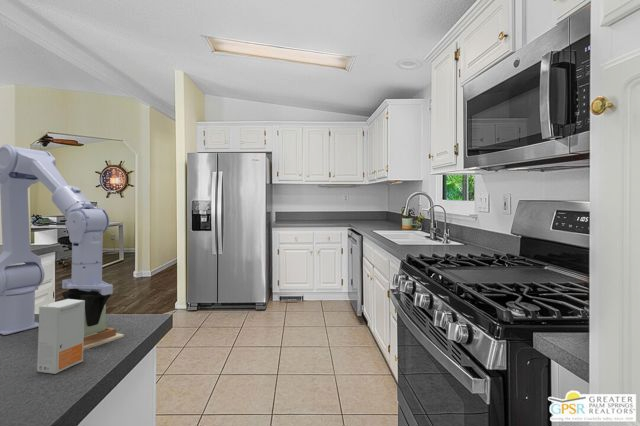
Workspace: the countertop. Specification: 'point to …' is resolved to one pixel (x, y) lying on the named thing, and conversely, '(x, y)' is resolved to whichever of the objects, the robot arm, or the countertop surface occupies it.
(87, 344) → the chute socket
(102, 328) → the chute block
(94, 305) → the robot arm
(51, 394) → the countertop surface
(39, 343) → the skincare box
